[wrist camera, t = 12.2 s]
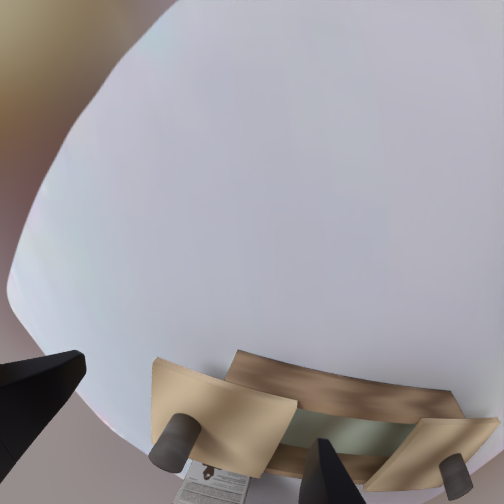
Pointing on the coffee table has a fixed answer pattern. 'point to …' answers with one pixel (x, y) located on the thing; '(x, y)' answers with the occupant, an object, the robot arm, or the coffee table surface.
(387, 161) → the coffee table surface
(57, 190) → the coffee table surface
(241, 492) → the coffee box
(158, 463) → the lid
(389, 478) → the lid
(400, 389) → the walnut box
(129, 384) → the coffee table surface
